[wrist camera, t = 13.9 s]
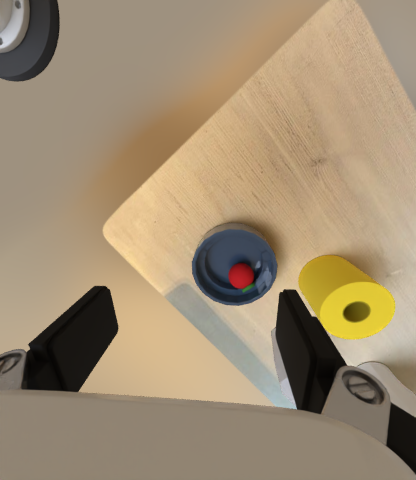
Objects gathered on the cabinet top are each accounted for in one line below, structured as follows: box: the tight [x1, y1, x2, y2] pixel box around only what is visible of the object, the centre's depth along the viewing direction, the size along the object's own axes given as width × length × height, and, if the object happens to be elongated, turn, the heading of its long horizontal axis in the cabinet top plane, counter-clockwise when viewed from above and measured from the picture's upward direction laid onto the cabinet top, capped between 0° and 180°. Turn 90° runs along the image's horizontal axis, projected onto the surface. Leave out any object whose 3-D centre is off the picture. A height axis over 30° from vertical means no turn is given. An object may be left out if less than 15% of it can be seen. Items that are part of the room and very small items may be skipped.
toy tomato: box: [228, 263, 255, 293], centre depth 36 cm, size 5×5×5 cm
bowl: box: [192, 223, 277, 306], centre depth 36 cm, size 14×14×5 cm
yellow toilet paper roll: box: [298, 255, 395, 339], centre depth 33 cm, size 10×10×9 cm
